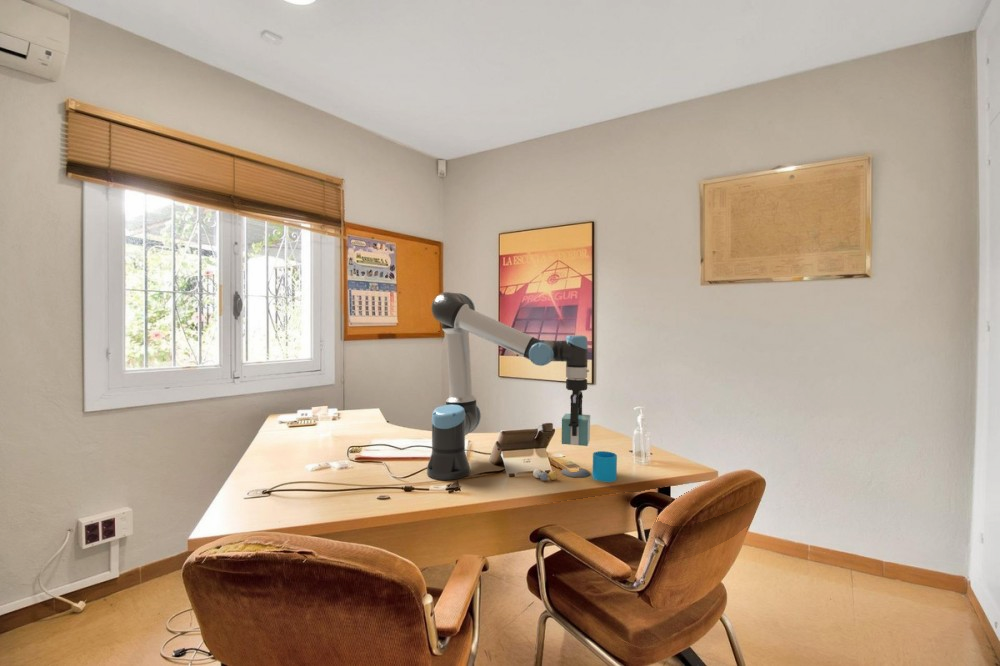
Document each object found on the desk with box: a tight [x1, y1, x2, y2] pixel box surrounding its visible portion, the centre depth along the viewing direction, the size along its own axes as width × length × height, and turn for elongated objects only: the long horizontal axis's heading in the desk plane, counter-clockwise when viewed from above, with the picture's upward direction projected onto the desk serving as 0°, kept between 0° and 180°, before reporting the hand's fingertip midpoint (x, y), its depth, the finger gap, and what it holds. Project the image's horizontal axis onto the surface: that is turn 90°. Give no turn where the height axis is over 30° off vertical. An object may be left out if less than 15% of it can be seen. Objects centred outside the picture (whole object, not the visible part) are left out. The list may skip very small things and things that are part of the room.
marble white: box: [532, 468, 542, 479], centre depth 162 cm, size 3×3×3 cm
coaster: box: [561, 467, 591, 479], centre depth 167 cm, size 10×10×1 cm
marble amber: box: [548, 470, 558, 481], centre depth 160 cm, size 3×3×3 cm
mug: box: [592, 450, 618, 483], centre depth 164 cm, size 12×8×8 cm
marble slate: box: [540, 471, 549, 482], centre depth 159 cm, size 3×3×3 cm
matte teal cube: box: [561, 413, 591, 447], centre depth 167 cm, size 9×9×9 cm
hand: (576, 441), depth 167 cm, fingers closed on matte teal cube, 9 cm apart
